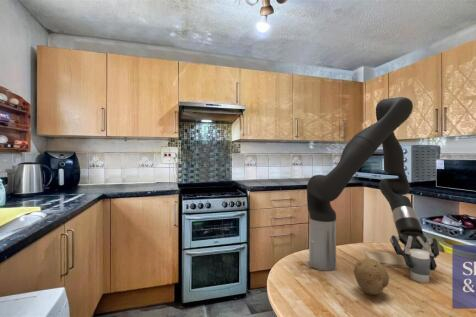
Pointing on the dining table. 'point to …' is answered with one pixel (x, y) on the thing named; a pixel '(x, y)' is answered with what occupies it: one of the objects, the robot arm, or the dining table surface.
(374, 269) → the natural sponge
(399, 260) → the oak board
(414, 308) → the dining table surface
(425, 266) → the grey banded cylinder
